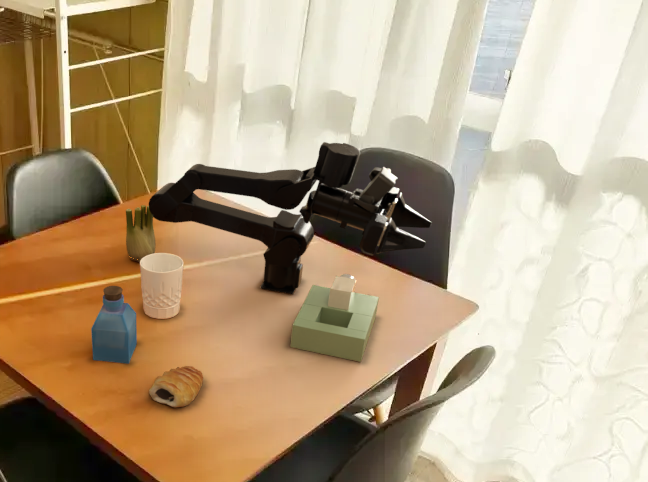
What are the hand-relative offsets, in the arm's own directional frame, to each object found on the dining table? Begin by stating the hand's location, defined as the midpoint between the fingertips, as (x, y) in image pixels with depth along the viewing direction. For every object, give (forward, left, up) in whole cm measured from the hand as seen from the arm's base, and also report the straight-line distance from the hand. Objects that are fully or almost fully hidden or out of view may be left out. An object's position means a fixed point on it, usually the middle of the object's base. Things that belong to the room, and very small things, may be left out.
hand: (427, 234), depth 131 cm
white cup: (-43, -18, -15) cm, 49 cm away
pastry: (-31, -41, -15) cm, 54 cm away
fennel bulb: (-55, 0, -15) cm, 57 cm away
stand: (-12, -13, -15) cm, 23 cm away
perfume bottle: (-45, -34, -16) cm, 58 cm away
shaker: (-12, -9, -11) cm, 19 cm away
